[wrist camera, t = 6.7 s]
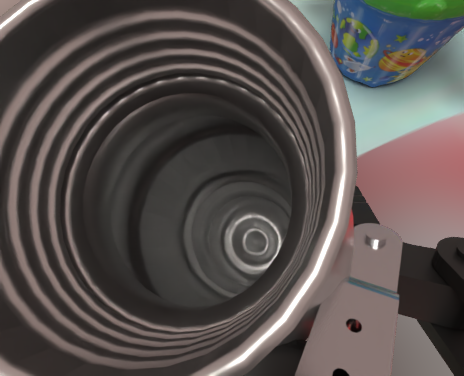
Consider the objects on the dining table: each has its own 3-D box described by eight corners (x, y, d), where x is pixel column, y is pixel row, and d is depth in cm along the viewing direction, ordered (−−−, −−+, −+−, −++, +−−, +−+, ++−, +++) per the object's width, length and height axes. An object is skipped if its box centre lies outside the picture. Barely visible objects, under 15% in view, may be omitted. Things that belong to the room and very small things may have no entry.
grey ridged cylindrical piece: (274, 187, 22) (291, -258, 3) (314, 266, 20) (1105, 500, 1) (202, 220, 22) (-229, 11, 3) (235, 302, 20) (-320, 1054, 1)
